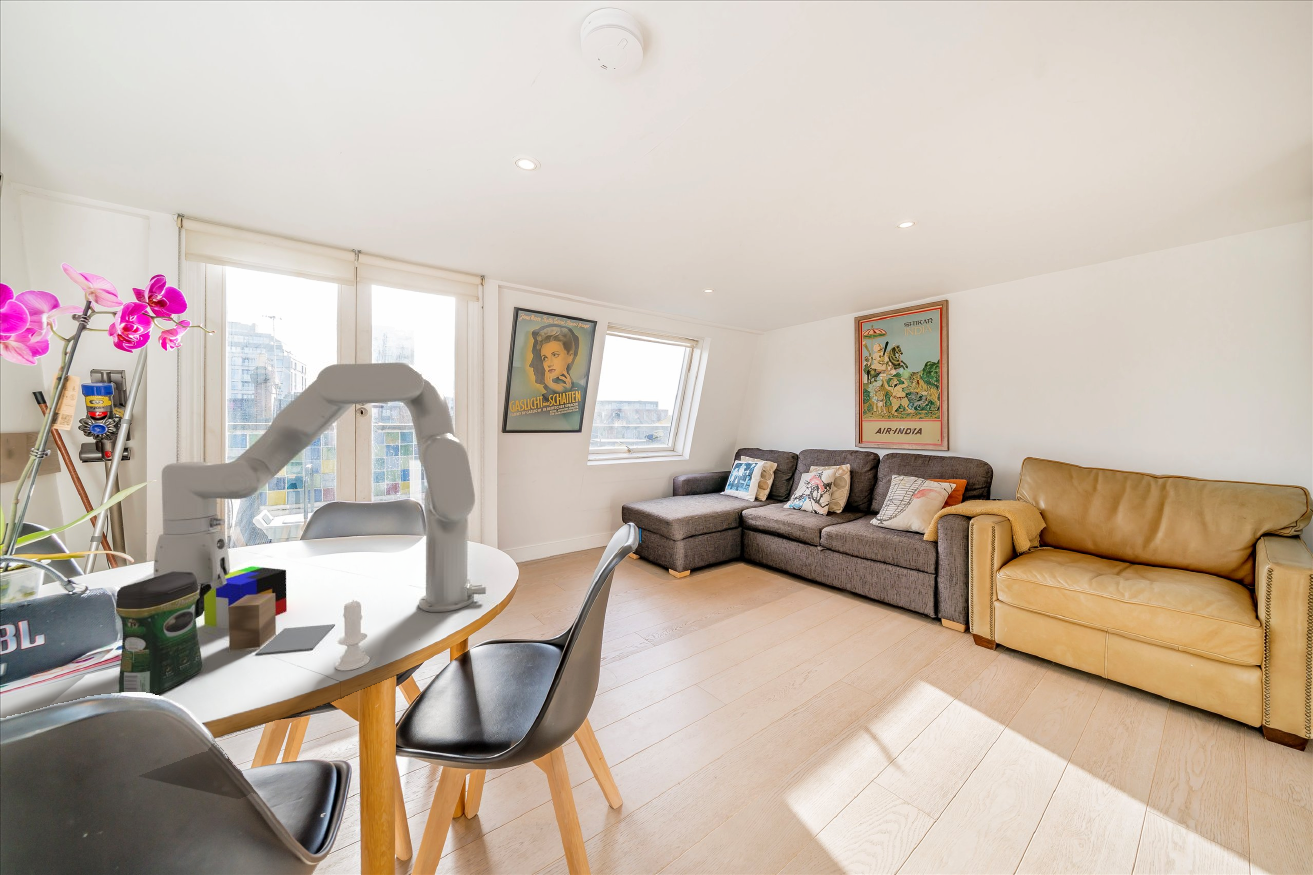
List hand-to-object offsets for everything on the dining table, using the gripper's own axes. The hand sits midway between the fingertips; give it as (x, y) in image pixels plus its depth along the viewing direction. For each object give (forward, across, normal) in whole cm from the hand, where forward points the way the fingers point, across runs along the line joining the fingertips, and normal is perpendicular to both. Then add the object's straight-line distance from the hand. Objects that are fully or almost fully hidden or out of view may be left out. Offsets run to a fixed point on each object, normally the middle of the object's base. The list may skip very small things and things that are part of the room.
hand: (192, 617), depth 92 cm
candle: (+6, -32, +13) cm, 35 cm away
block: (+6, -10, 0) cm, 12 cm away
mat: (+6, -18, 0) cm, 19 cm away
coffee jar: (+6, -3, +13) cm, 15 cm away
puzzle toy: (+6, -2, -14) cm, 16 cm away
